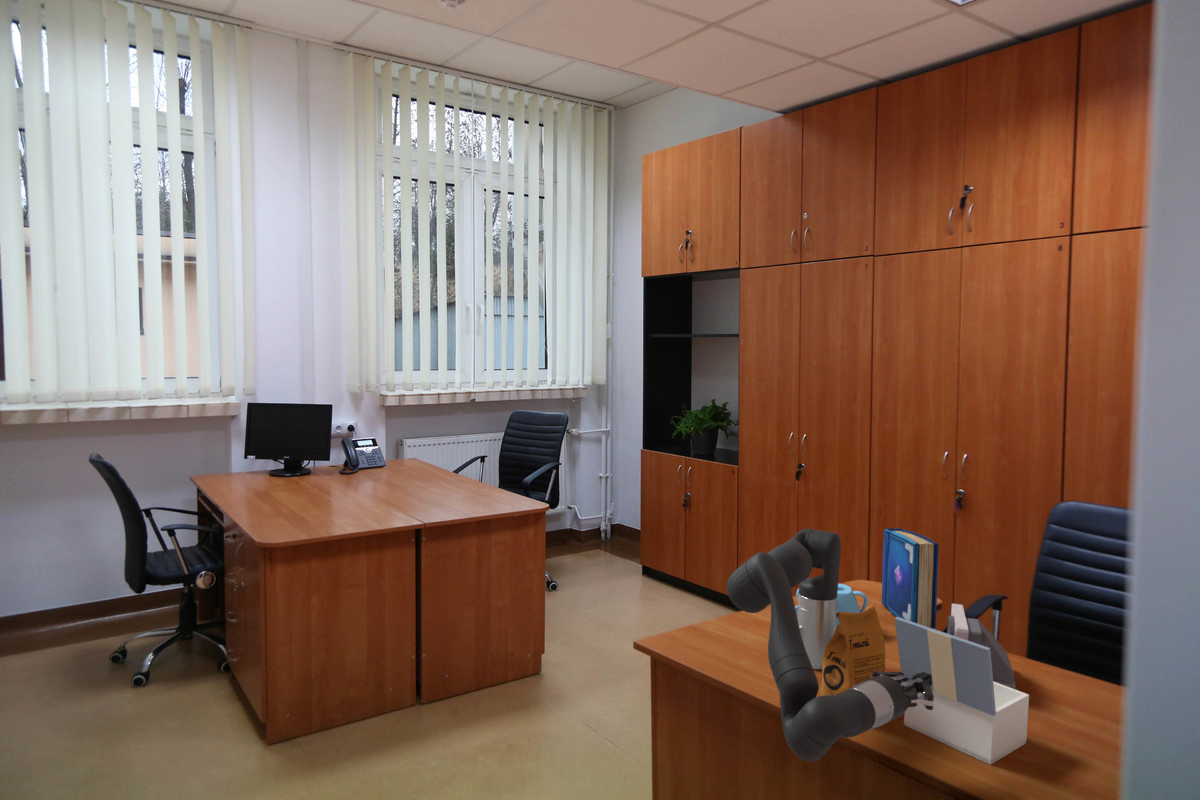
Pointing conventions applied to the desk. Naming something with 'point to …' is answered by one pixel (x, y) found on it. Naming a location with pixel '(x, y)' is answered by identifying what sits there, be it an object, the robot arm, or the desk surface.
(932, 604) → the book
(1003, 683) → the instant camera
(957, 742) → the storage box
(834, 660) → the coffee package
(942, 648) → the lid
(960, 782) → the desk surface
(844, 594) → the decorative pot
